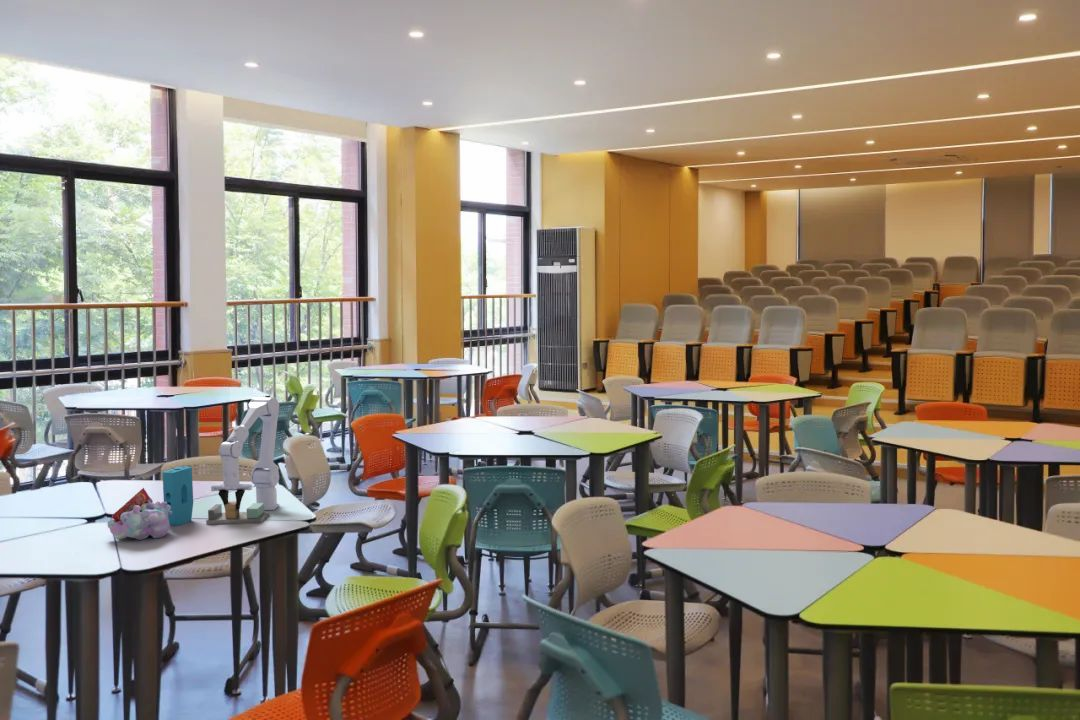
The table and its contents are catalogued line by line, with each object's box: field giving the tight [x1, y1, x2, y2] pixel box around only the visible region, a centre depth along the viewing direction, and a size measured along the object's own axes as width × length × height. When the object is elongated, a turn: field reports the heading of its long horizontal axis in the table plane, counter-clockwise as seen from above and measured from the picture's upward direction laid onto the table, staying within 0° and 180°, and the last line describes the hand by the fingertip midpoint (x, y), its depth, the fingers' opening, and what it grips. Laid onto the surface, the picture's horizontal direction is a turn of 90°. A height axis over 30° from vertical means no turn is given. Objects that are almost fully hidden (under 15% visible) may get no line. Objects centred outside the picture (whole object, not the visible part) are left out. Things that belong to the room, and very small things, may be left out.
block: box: [162, 466, 194, 527], centre depth 343 cm, size 12×5×20 cm, turn 167°
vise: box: [205, 503, 270, 525], centre depth 347 cm, size 12×20×5 cm, turn 93°
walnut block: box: [224, 500, 240, 518], centre depth 346 cm, size 6×4×5 cm, turn 3°
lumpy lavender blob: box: [107, 487, 172, 541], centre depth 323 cm, size 20×22×18 cm
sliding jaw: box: [246, 502, 265, 518], centre depth 347 cm, size 10×4×3 cm, turn 3°
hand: (232, 509), depth 347 cm, fingers closed on walnut block, 3 cm apart
